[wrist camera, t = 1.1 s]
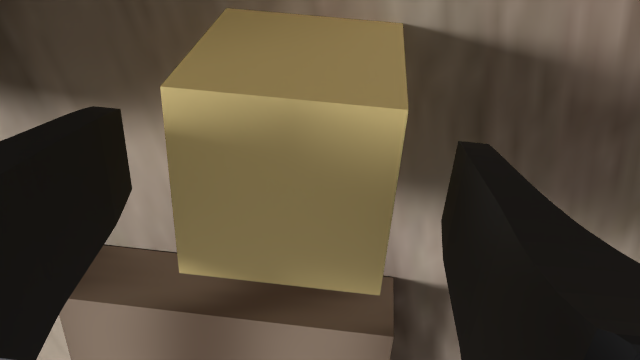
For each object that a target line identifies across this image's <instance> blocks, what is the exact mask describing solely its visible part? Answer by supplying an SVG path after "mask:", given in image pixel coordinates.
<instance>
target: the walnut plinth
mask: <svg viewBox="0 0 640 360" xmlns="http://www.w3.org/2000/svg"><path fill="white" fill-rule="evenodd" d="M59 316H60V320H61V323H62V327H63V331H64V335H65V338H66V342H67V346H68V349H69V353H70V357H71V360H390V355H391V349H392V344H393V338H394V307H393V278H392V277H383V278H382V285H381V291H380V296H379V295H370V294H362V293H353V292H344V291H335V290H326V289H317V288H308V287H300V286H291V285H282V284H273V283H264V282H255V281H246V280H238V279H229V278H220V277H211V276H202V275H193V274H184V273H179V266H178V256H177V253H169V252H160V251H151V250H142V249H133V248H124V247H115V246H106V245H103V247H102V248H101V250H100V251H99V253H98V254H97V256H96V257H95V259H94V261H93V262H92V264H91V265H90V267H89V268H88V270H87V271H86V273H85V274H84V276H83V277H82V279H81V280H80V282H79V283H78V285H77V287H76V288H75V290H74V291H73V293H72V294H71V296H70V297H69V299H68V300H67V302H66V304H65V305H64V307H63V309H62V310H61V312H60V314H59Z"/></svg>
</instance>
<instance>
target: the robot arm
mask: <svg viewBox="0 0 640 360" xmlns="http://www.w3.org/2000/svg"><path fill="white" fill-rule="evenodd" d="M131 190H132V185H131V178H130V172H129V165H128V158H127V151H126V144H125V138H124V131H123V124H122V117H121V110H120V109H115V108H105V107H94V106H92V107H88V108H84V109H81V110H78V111H75V112H72V113H70V114H67V115H64V116H62V117H59V118H57V119H54V120H52V121H49V122H47V123H44V124H42V125H40V126H37V127H35V128H32V129H30V130H27V131H25V132H22V133H20V134H18V135H15V136H13V137H10V138H8V139H5V140H2V141H0V360H36V359H37V357H38V355H39V353H40V351H41V349H42V347H43V345H44V343H45V341H46V339H47V337H48V335H49V333H50V331H51V329H52V327H53V325H54V323H55V321H56V319H57V317H58V315H59V314H60V312H61V310H62V309H63V307H64V305H65V304H66V302H67V300H68V299H69V297H70V296H71V294H72V293H73V291H74V290H75V288H76V287H77V285H78V283H79V282H80V280H81V279H82V277H83V276H84V274H85V273H86V271H87V270H88V268H89V267H90V265H91V264H92V262H93V261H94V259H95V257H96V256H97V254H98V253H99V251H100V250H101V248H102V247H103V245H104V243H105V242H106V240H107V239H108V237H109V236H110V234H111V232H112V231H113V229H114V228H115V226H116V224H117V222H118V220H119V218H120V216H121V213H122V211H123V209H124V207H125V204H126V202H127V200H128V197H129V195H130V192H131ZM441 221H442V247H443V261H444V267H445V273H446V278H447V283H448V289H449V294H450V299H451V304H452V309H453V315H454V320H455V325H456V330H457V335H458V341H459V346H460V353H461V360H640V263H638V262H636V261H634V260H633V259H631V258H629V257H628V256H626V255H624V254H623V253H621V252H619V251H618V250H616V249H614V248H613V247H611V246H610V245H608V244H607V243H605V242H604V241H602V240H601V239H599V238H598V237H596V236H595V235H594V234H592V233H591V232H589V231H588V230H586V229H585V228H583V227H582V226H581V225H579V224H578V223H577V222H575V221H574V220H573V219H571V218H570V217H569V216H568V215H567V214H565V213H564V212H563V211H562V210H560V209H559V208H558V207H557V206H555V205H554V204H553V203H552V202H551V201H549V200H548V199H547V198H546V197H545V196H544V195H542V194H541V193H540V192H539V191H538V190H537V189H536V188H535V187H534V186H532V185H531V184H530V183H529V182H528V181H527V180H526V179H525V178H524V177H523V176H522V175H521V174H520V173H519V172H518V171H517V170H516V169H514V168H513V167H512V166H511V165H510V164H509V163H508V162H507V161H506V160H505V159H504V158H503V157H502V156H501V155H500V154H499V153H498V152H497V151H496V150H495V149H493V148H492V147H491V146H490V145H489V144H482V143H471V142H461V141H458V146H457V150H456V155H455V160H454V164H453V169H452V174H451V178H450V183H449V188H448V192H447V197H446V202H445V206H444V211H443V216H442V220H441Z"/></svg>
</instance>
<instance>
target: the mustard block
mask: <svg viewBox="0 0 640 360" xmlns="http://www.w3.org/2000/svg"><path fill="white" fill-rule="evenodd" d="M160 90H161V100H162V109H163V119H164V129H165V139H166V149H167V158H168V168H169V178H170V188H171V198H172V207H173V217H174V227H175V237H176V247H177V256H178V266H179V273H184V274H193V275H202V276H211V277H220V278H229V279H238V280H246V281H255V282H264V283H273V284H282V285H291V286H300V287H308V288H317V289H326V290H335V291H344V292H353V293H362V294H370V295H379V296H380V291H381V285H382V278H383V272H384V266H385V259H386V253H387V246H388V240H389V233H390V227H391V220H392V214H393V207H394V201H395V194H396V188H397V181H398V175H399V168H400V162H401V156H402V149H403V143H404V136H405V130H406V123H407V117H408V95H407V80H406V66H405V51H404V36H403V23H391V22H380V21H368V20H357V19H345V18H334V17H322V16H311V15H299V14H288V13H276V12H265V11H253V10H242V9H230V8H226V9H225V11H224V12H223V13H222V14H221V15H220V16H219V18H218V19H217V20H216V21H215V22H214V24H213V25H212V26H211V27H210V28H209V29H208V31H207V32H206V33H205V34H204V35H203V37H202V38H201V39H200V40H199V41H198V42H197V44H196V45H195V46H194V47H193V48H192V50H191V51H190V52H189V53H188V54H187V55H186V57H185V58H184V59H183V60H182V61H181V62H180V64H179V65H178V66H177V67H176V68H175V70H174V71H173V72H172V73H171V74H170V75H169V77H168V78H167V79H166V80H165V81H164V83H163V84H162V85H161V86H160Z"/></svg>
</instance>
